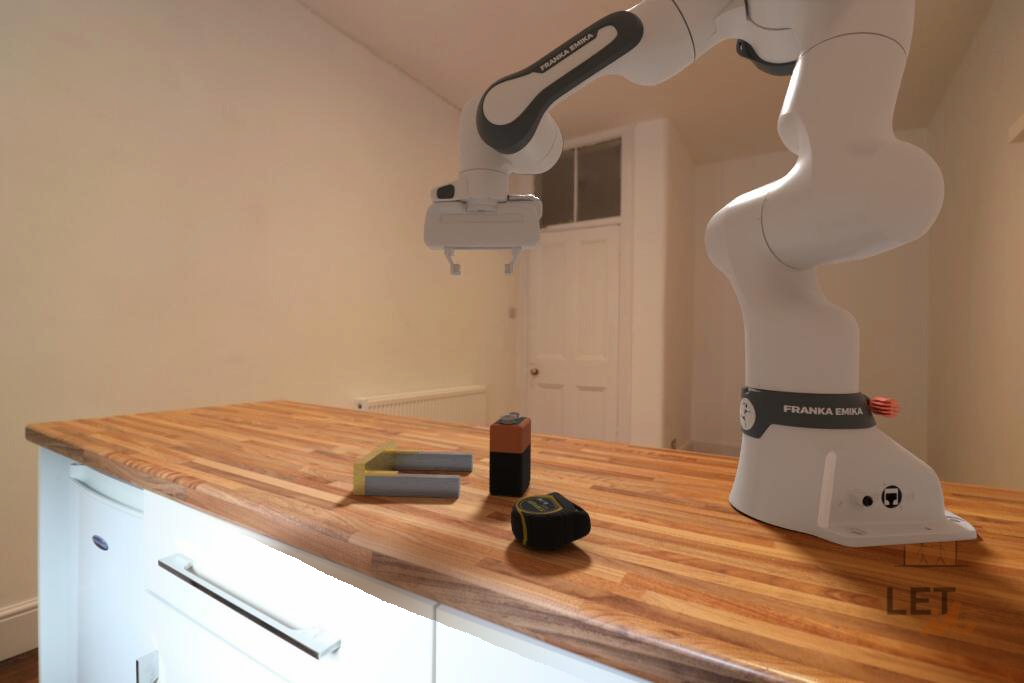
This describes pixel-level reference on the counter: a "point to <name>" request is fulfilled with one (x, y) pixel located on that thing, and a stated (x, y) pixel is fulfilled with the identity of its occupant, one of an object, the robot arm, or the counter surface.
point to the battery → (510, 455)
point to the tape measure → (548, 521)
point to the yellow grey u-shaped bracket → (381, 481)
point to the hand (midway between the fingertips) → (482, 274)
